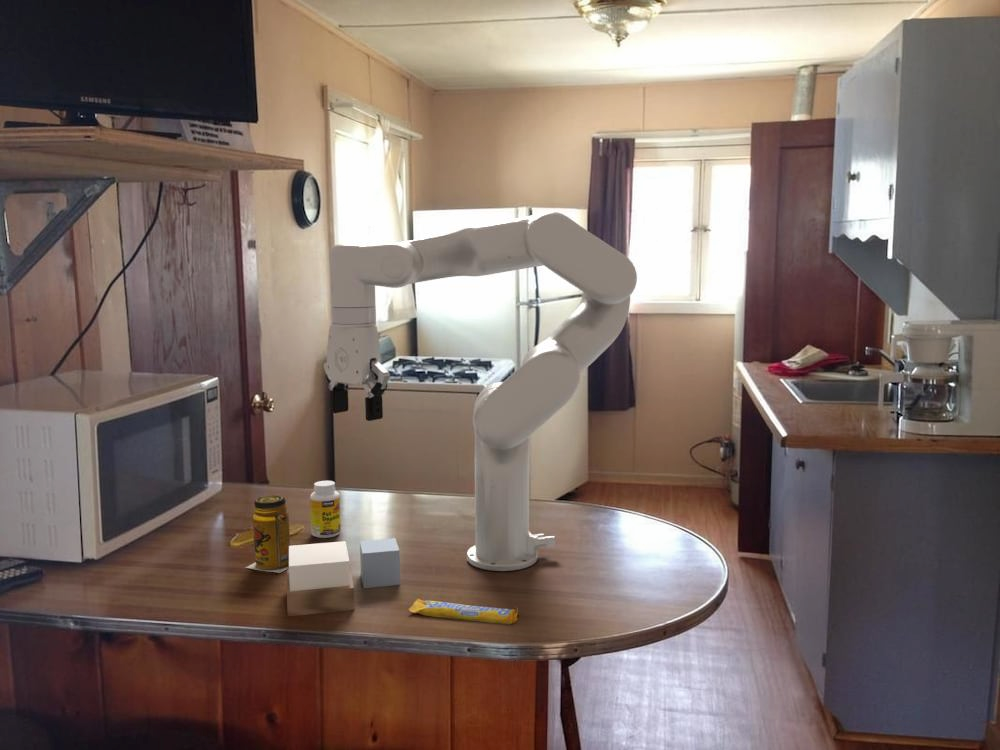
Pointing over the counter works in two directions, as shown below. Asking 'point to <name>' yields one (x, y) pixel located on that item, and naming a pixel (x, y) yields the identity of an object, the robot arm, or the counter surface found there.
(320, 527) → the supplement bottle
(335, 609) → the tower base block
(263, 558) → the condiment
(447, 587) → the counter surface
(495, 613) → the candy bar
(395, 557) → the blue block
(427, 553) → the counter surface
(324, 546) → the tower top block
